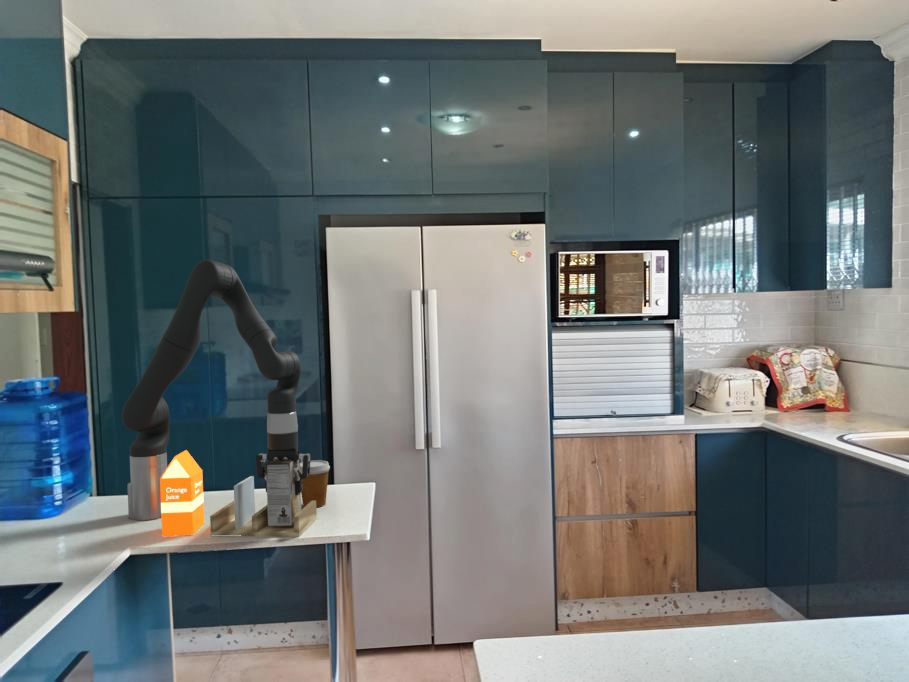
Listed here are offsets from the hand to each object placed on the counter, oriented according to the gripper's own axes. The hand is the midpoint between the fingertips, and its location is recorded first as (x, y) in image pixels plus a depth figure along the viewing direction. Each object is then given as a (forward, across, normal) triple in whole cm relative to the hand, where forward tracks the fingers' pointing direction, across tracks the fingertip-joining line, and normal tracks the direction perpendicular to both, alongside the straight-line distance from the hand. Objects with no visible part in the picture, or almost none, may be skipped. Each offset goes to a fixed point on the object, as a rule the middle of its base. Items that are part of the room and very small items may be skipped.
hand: (284, 494), depth 165 cm
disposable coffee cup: (+9, +1, +20) cm, 22 cm away
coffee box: (+7, 0, 0) cm, 7 cm away
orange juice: (+9, -26, -3) cm, 27 cm away
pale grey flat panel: (+9, -11, 0) cm, 14 cm away
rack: (+9, -5, 0) cm, 10 cm away
